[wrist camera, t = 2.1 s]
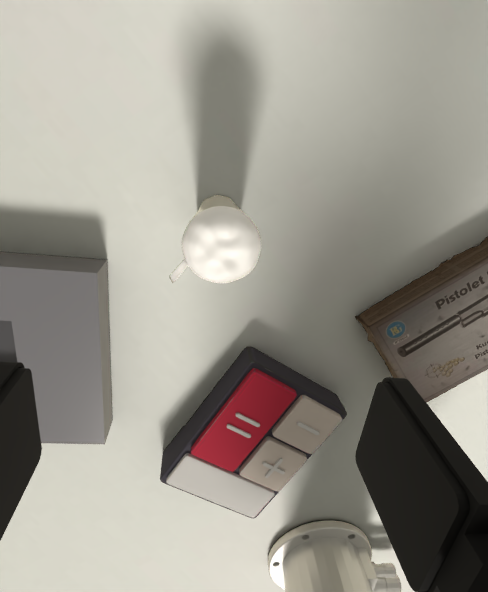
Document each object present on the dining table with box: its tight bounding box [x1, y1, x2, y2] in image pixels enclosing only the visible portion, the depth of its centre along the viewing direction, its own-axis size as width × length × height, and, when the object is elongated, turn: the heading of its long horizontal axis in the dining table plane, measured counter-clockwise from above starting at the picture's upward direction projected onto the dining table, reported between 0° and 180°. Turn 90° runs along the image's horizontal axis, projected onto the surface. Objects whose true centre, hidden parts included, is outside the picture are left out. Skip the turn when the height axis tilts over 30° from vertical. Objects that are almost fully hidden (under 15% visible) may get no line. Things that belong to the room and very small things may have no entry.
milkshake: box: [169, 195, 261, 283], centre depth 25 cm, size 4×5×10 cm
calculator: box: [160, 346, 347, 518], centre depth 37 cm, size 11×4×15 cm
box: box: [355, 237, 488, 402], centre depth 34 cm, size 11×17×3 cm, turn 123°
